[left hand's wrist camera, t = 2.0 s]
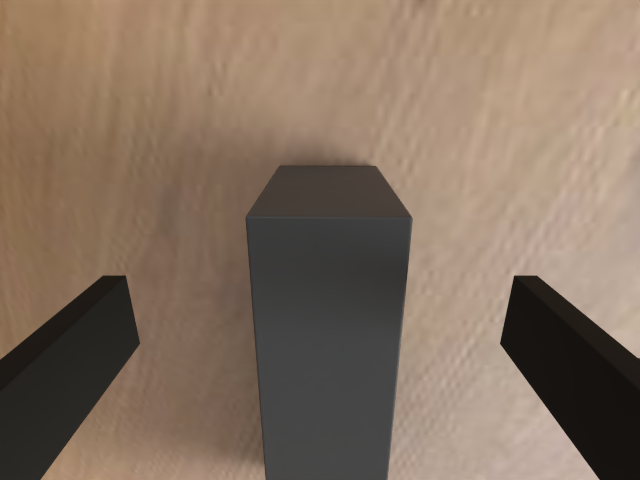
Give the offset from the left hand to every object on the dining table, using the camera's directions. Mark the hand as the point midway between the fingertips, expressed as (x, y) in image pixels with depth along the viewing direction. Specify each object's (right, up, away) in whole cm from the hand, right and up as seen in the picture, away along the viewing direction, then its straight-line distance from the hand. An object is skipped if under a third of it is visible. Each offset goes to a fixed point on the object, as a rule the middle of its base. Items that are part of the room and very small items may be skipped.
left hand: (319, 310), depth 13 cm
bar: (0, -5, +12) cm, 13 cm away
